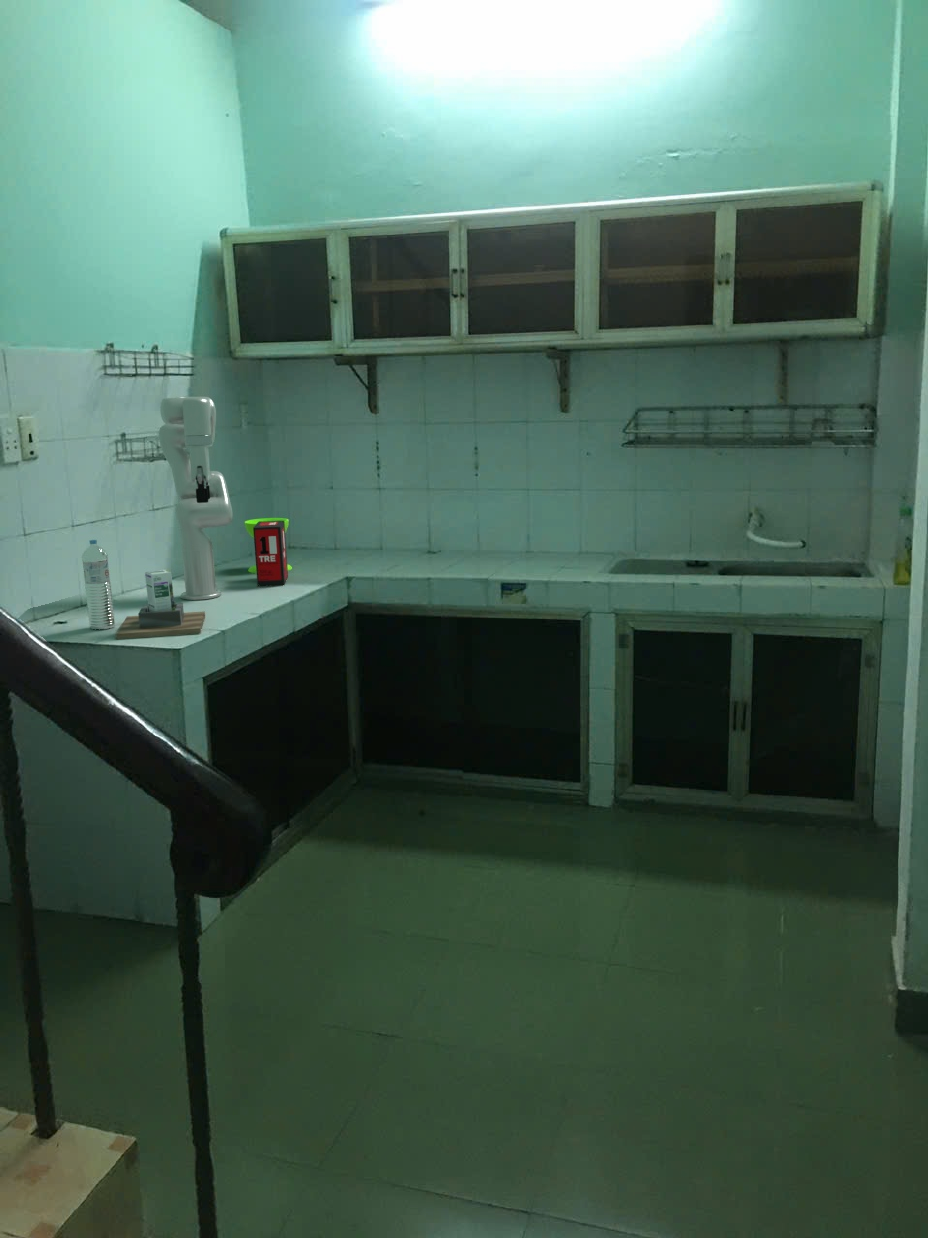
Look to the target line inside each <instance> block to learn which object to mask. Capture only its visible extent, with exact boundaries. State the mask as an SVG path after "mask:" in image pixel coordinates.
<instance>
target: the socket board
mask: <svg viewBox="0 0 928 1238" xmlns="http://www.w3.org/2000/svg"><path fill="white" fill-rule="evenodd" d="M174 606H175V610H172V611H156V612H149V605H148V604H147V605H142V606H141V608H140V610H139V612H138V615H130V616H129V615H128V616H126V617H125V619H124V621H123V623H122V624H121V625H120V627H119V629H117V632H116V634H115V637H116V640H125V639H127V640H128V639H137V638H138V639H140V638H141V639H142V638H154V637H155V638H156V637H169V636H170V637H171V636H182V635H186V636H187V635H197V634H198V635H200V634H199V633H201V634H202V630H203V626H204V623H203V622H205V619H206V611H204V610H203V611H189V612H188V611H187V612H184V603H183V602H182V603H181V602H179V603H174ZM201 629H202V630H201Z"/></svg>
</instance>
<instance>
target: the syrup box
mask: <svg viewBox="0 0 928 1238" xmlns="http://www.w3.org/2000/svg"><path fill="white" fill-rule="evenodd" d="M144 577H145V585H146V586H145V587H146V593H147V595H146V596H147V605H149V612H156V611H172V610H175V606H174V604H175V598H174V597H175V596H174V587H173V578H172V572H171V571H170V570H168V569H166V568H165V569H160V570H152V571H146V572H144Z"/></svg>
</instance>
